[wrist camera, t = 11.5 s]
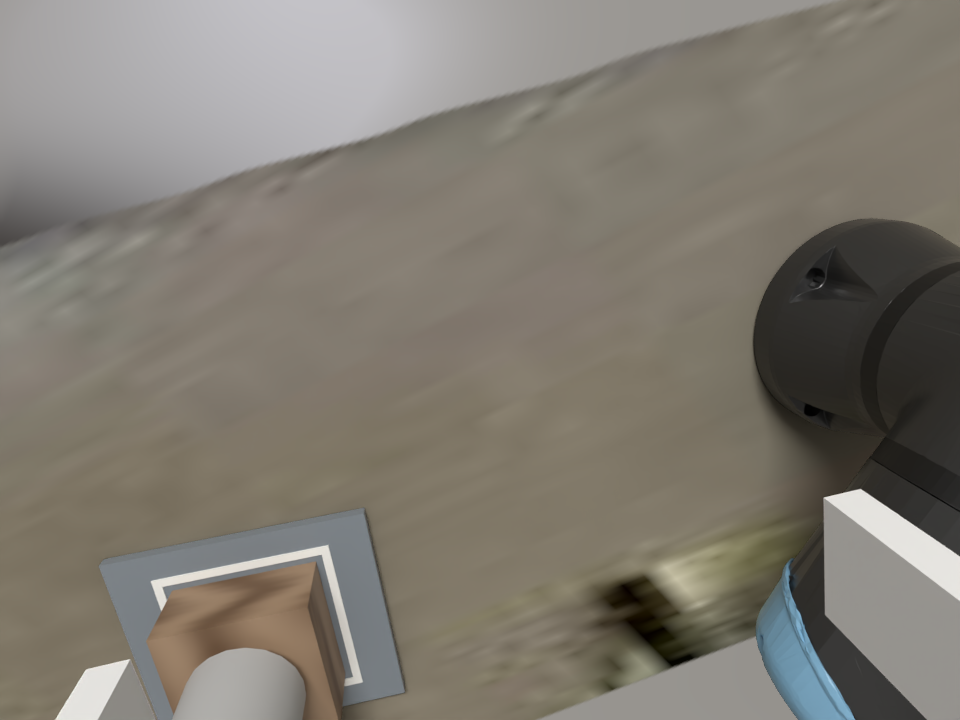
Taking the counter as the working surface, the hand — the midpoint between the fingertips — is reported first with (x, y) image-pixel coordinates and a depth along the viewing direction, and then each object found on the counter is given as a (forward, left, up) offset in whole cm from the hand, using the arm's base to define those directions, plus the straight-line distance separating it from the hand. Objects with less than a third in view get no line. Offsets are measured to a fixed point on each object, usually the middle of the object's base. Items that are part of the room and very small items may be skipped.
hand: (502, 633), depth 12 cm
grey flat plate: (+16, +22, -31) cm, 41 cm away
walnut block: (+16, +22, -31) cm, 41 cm away
